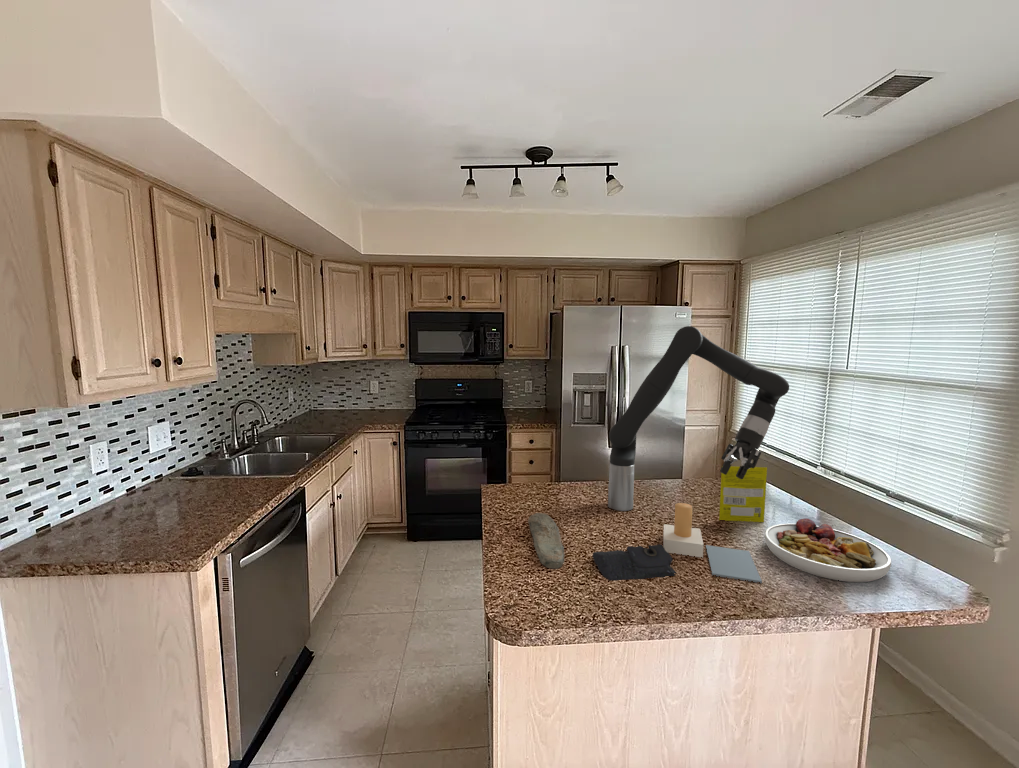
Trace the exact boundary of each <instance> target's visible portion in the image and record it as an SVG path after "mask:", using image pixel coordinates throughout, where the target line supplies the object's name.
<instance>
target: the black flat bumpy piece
mask: <svg viewBox="0 0 1019 768" xmlns="http://www.w3.org/2000/svg"><path fill="white" fill-rule="evenodd" d="M592 559H593V561H594V563H595V564H596V566H597V569H598V571H600V573H601V575H602V576H603V577H604V578H605V579H606V580H608V581H613V582H614V581H616V582H617V581H623V580H624V581H630V579H631V580H643V579H646V580H647V578H648V579H656V578H655V577H660V578H666V577H665V576H674V575H675V576H676V574H677V573H676V572H677V571H676V570H675V569H673V567H672V566H671V564H672V563H673V560H674V558H673V557H672V555H671V553H668V552H666V551H665V548H664V544H660V543H658V544H655V545H653V544H652V545H650V544H649V545H647V547H643V546H641V545H637V546H633V545H632V546H631V545H628V546H627V547H626V550H625V551H624V550H621V549H620V550H609V551H602V550H601V551H594V552H592ZM675 571H676V572H675ZM674 573H675V574H674ZM675 576H674V577H675Z"/></svg>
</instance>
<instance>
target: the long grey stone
mask: <svg viewBox="0 0 1019 768" xmlns="http://www.w3.org/2000/svg"><path fill="white" fill-rule="evenodd" d="M528 525H529V529H530V533H531V536H532V539H533V547H534V549H535V551H536V555H537V557H538V559H539V561H540V564H541V565H543V566H544V567H545V568H547V569H554V570H556V569H560V568H561V567H562V566H563V564H564V563H565V553H564V551H565V547H564V545H563V543H562V538H561V534H560V528H559V526H557V523H556V522H555V520H554V519H553V518H552V517H551V516H550V515H548V514H547V513H543V512H536V513H534V514H531V515H530V516H529V517H528Z"/></svg>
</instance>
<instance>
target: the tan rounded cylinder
mask: <svg viewBox="0 0 1019 768" xmlns="http://www.w3.org/2000/svg"><path fill="white" fill-rule="evenodd" d="M673 523H674V534H675V535H677V536H680V537H690V536H691V530H692V528H693V526H692V525H693V505H692V504H689V503H684V502H678V503H677V502H676V503H675V505H674V522H673Z"/></svg>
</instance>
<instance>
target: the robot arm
mask: <svg viewBox="0 0 1019 768" xmlns="http://www.w3.org/2000/svg"><path fill="white" fill-rule="evenodd" d="M692 355H695V356H697V357H700V358H701V359H704V360H705V361H707V362H709V363H711V364H712V365H714V366H715V367H717V368H718V369H720V370H721V371H723V372H724V373H725V374H727V375H729V376H730V377H732V378H734V379H736V380H737V381H739V382H741V383H743V384H745V385H747V386H754V387H756V388H758V390H757V392H756V395H755V398H754V401H753V403H752V405H751V407H750V409H749V410H748V412H747V415H746V417H745V418H744V419H743V421H742V423H741V426H740V428H739V429H738V431H737V434H736V435H735V437H734V439H735V441H736V443H735V444H734V445H733V444H731V443H728V445H727V446H726V449H725V451H724V453H723V454H722V456H721V459H722V460H723V464H722V466H721V468H720V471H719V472H720V474H721V473H723V474H727V473H728V471H729V469H730V467H731V466H732V464H733V463H735V462H738V461H741V463H740V464H741V465H740V466H739V467H740V468H739V470H738V472H737V474H736V477H738V478H740V479H743V478H744V476H745V474H746V472H747V470H748V469H750V468H755V467H757V464H758V461H759V459H760V456H761V454H762V451H760V450H759V448H760V447H761V445H762V443H763V442H764V438H765V437H766V435H767V432H768V431H769V427H770V424H771V422H772V420H774V419H773V418H774V417H775V414H776V406H777V404H778V402H779V400H780V398H782V397H784V396H785V395H786V394H787V393H788V392H789V390H790V385H789V384H790V383H789V382H788V381H787V380H786V378H785V377H784V376H781V375H780V374H778V373H776V372H773V371H770V370H767V369H766V368H761V367H759V366H757V365H756V364H754V363H752V362H751V361H749V360H746V359H745V358H743V357H741V356H740V355H737V354H735V353H733V352H731V351H728V350H726V349H724V348H723V347H721V346H720V345H717V344H716V343H714V342H713V341H711V340H710V339H708V337H706V335H703V334H702V333H701V330H699V328H697V327H695V326H691V325H686V326H683V327H681V328H679V329H678V330H677V332H675V334H674V336H673V339H672V340H671V342H670V344H669V345H668V348H667V349H666V351H665V353H664V354H663V356H662V357H661V358H660V360H659V361H658V362H657V363H656V365H655V366H654V367H653V368H652V369H651V371H650V372H649V373H648V375H647V376H646V377H645V379H644V380H643V381H642V383H641V384H640V386H639V388H638V389H637V390H636V393H635V394H634V396H633V398H632V399H631V402H630V403H629V405H628V407H627V409H626V410H625V412H623V413H624V414H622V416H621V417H620V418H619V419H618V420H617V422H616V423H615V424H614V425H613V426H612V427H610V429H609V433H608V435H609V436H608V438H609V441H610V443H611V451H610V455H609V476H608V478H609V481H608V487H607V488H608V490H607V493H608V494H607V508H608V507H609V508H610V509H612V510H614V511H619V512H620V511H622V512H626V511H632V510H633V509H634V490H635V489H634V487H635V459H636V451H637V450H636V449H637V448H636V447H637V433H638V432H639V430H640V428H641V426H642V425H643V424H644V422H645V420H647V418H648V417H650V415H651V414H652V413H653V412H654V410H656V409H657V407H658V406H659V405H660V404H661V403H662V401H663V400H664V399H665V397H666V396H667V394H668V393H669V391H670V389H671V388H672V386H673V384H674V383H675V380H676V378H677V376H678V375H679V372H680V371H681V369H682V368H683V366H684V364H685V363H686V362H687V361H688V360H689V359H690V357H691V356H692Z"/></svg>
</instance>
